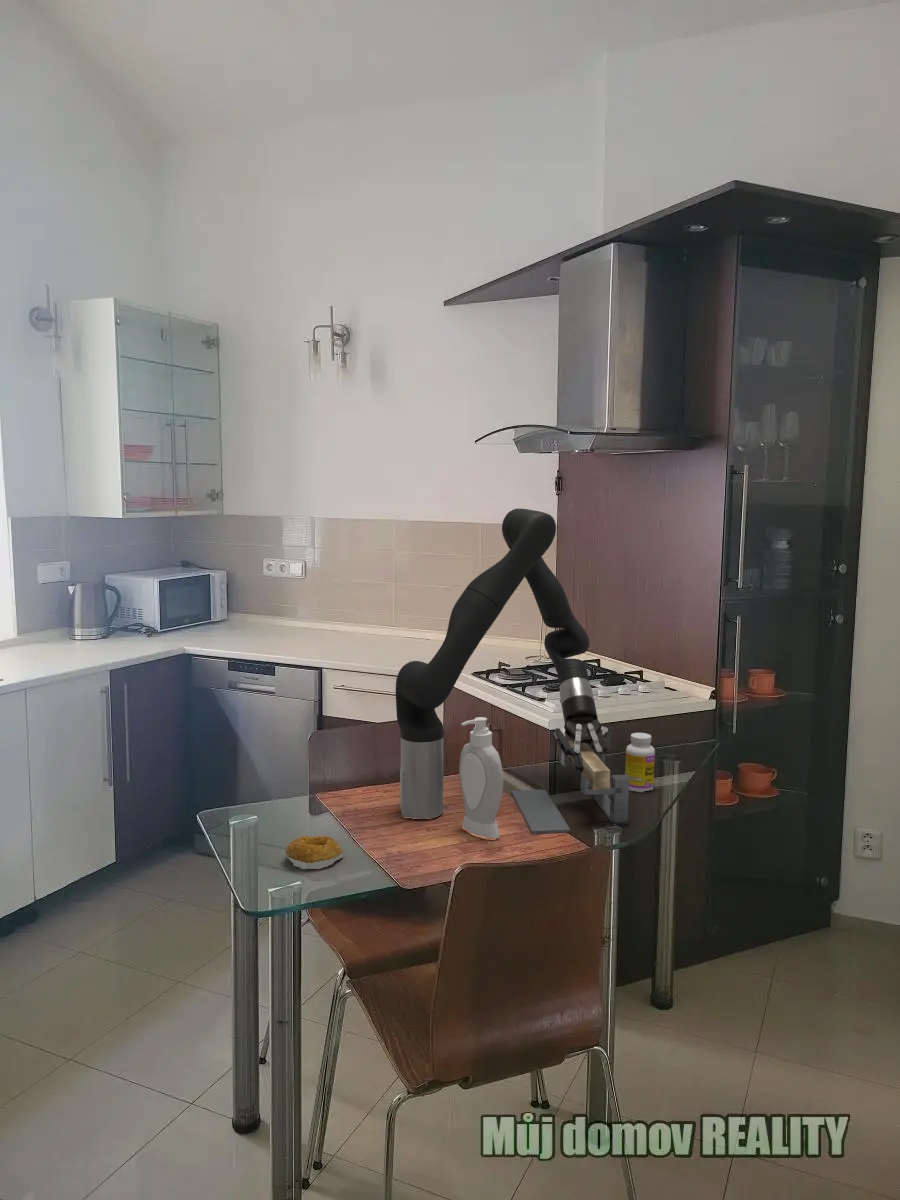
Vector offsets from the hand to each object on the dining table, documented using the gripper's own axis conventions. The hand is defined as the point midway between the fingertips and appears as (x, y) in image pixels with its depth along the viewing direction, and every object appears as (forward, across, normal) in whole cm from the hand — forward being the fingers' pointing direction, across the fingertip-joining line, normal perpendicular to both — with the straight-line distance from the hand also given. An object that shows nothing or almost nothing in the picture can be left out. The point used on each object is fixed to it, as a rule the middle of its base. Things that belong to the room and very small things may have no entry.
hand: (590, 770), depth 200 cm
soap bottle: (+14, -26, 0) cm, 30 cm away
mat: (+6, -11, +7) cm, 14 cm away
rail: (-1, 0, +2) cm, 2 cm away
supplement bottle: (-2, +16, +16) cm, 22 cm away
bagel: (+20, -59, -6) cm, 63 cm away
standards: (+5, +2, +8) cm, 10 cm away
